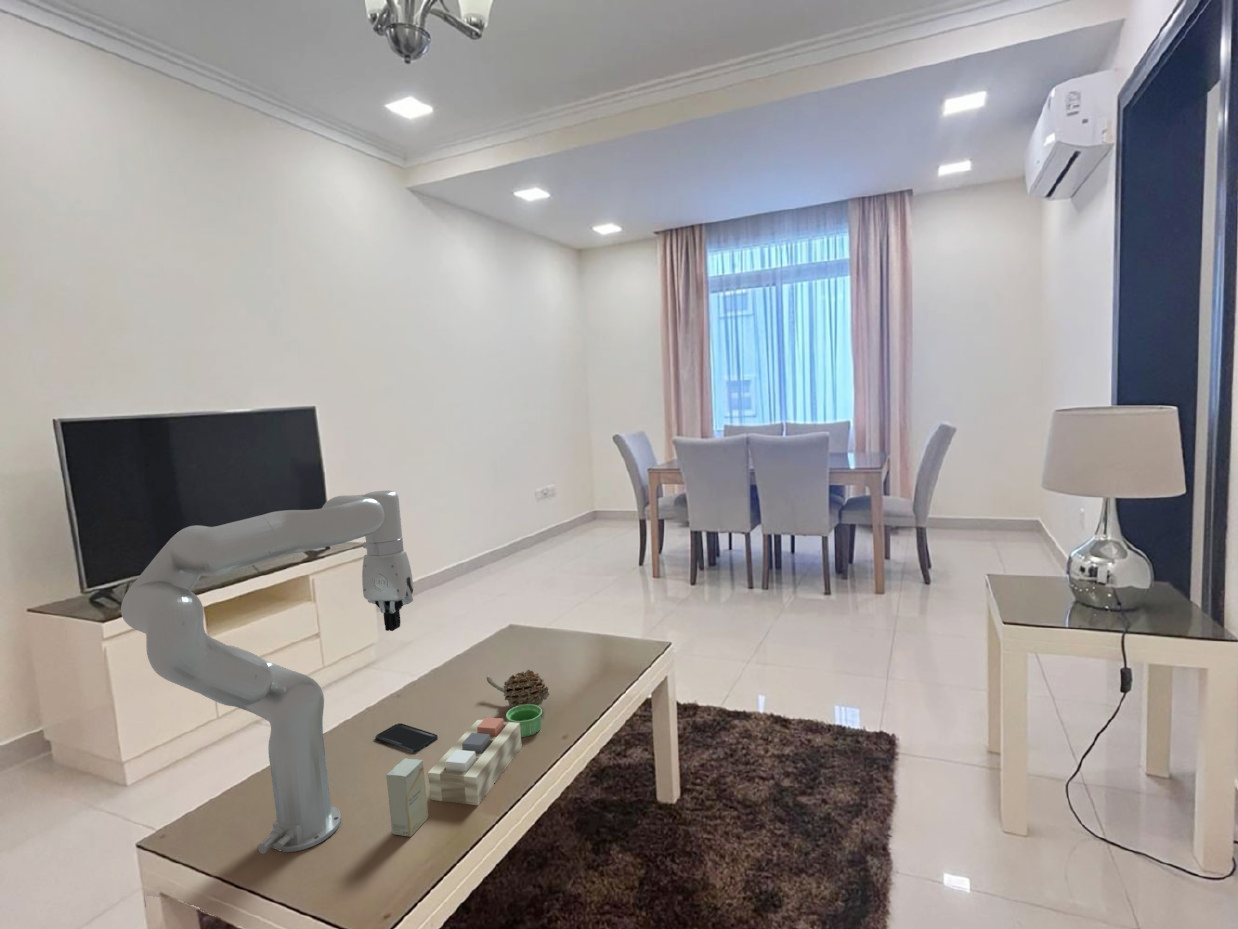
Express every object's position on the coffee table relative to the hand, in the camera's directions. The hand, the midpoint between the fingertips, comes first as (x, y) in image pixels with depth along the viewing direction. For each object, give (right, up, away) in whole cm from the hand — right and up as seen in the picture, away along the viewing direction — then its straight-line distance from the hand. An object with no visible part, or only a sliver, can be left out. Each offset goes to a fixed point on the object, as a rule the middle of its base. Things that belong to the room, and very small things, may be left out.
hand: (393, 628), depth 140 cm
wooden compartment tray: (+19, -32, +1) cm, 37 cm away
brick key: (+21, -29, +7) cm, 36 cm away
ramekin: (+27, -30, +18) cm, 44 cm away
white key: (+17, -31, -6) cm, 36 cm away
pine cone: (+22, -29, +32) cm, 48 cm away
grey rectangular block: (+19, -30, +1) cm, 35 cm away
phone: (-3, -32, +17) cm, 37 cm away
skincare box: (+9, -35, -16) cm, 39 cm away
